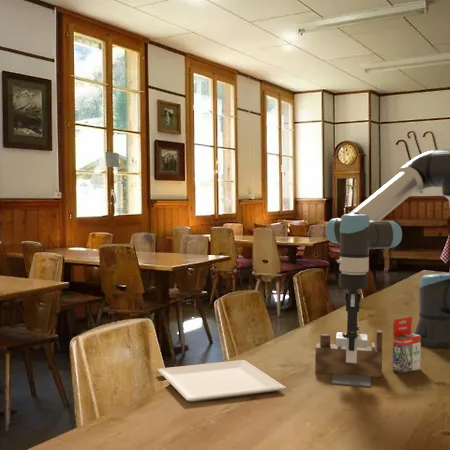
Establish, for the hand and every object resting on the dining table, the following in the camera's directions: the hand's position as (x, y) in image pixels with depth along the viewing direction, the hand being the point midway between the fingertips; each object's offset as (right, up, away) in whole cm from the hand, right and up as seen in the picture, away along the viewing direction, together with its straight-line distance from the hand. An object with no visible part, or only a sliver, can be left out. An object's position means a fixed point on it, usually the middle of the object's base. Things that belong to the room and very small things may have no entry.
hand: (351, 358), depth 164 cm
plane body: (+1, -6, +8) cm, 10 cm away
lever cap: (0, +4, 0) cm, 4 cm away
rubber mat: (0, -6, 0) cm, 6 cm away
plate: (-35, -7, -2) cm, 36 cm away
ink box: (+18, -6, +11) cm, 22 cm away
